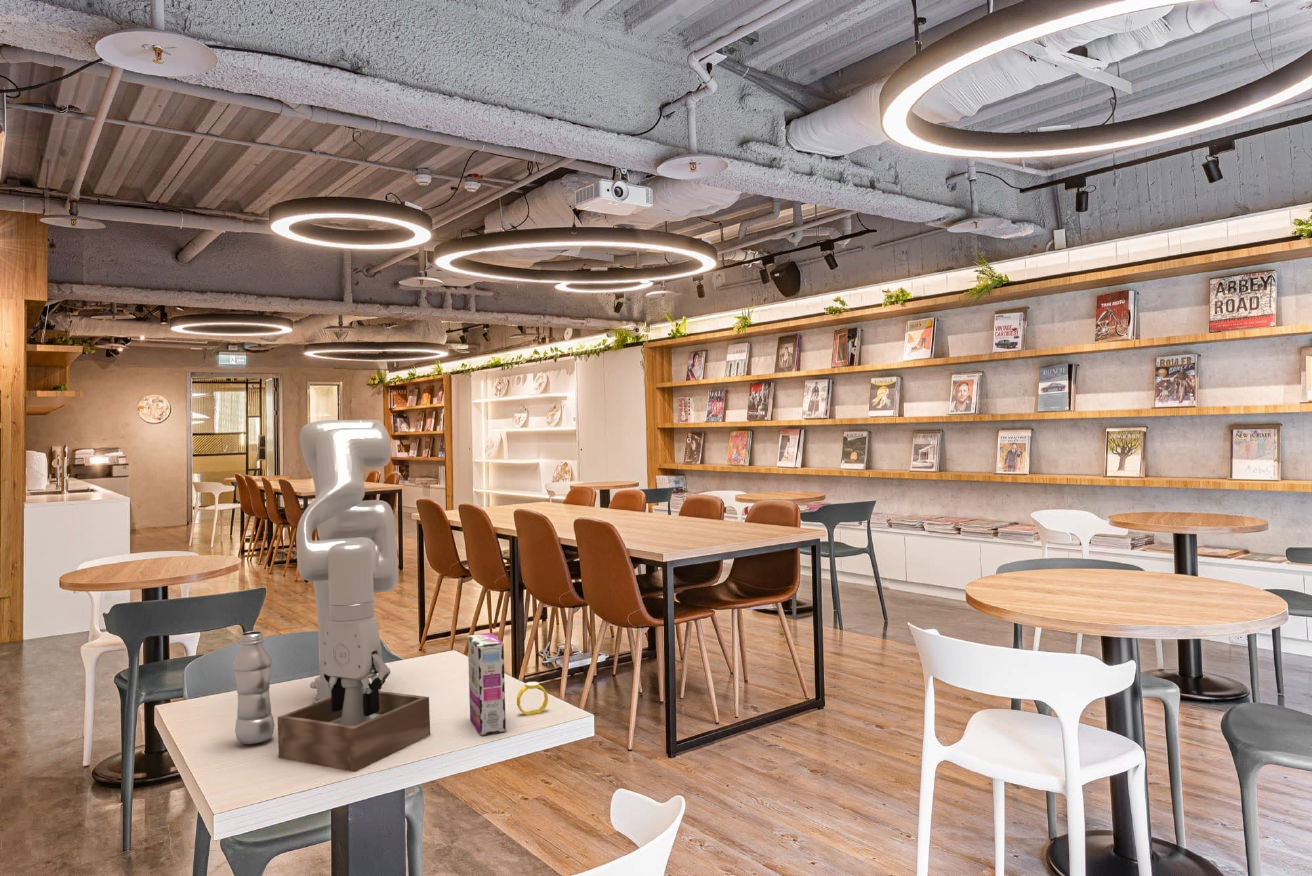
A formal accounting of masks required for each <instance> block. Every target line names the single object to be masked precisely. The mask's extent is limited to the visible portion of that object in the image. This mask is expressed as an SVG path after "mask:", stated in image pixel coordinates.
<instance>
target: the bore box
mask: <svg viewBox="0 0 1312 876" xmlns="http://www.w3.org/2000/svg"><path fill="white" fill-rule="evenodd" d="M364 690H365V689H364ZM365 693H366V691H365ZM342 711H343V709H341V710H339V711H336V712H333V711H332V705H331V698H328V699H325V700H323V701H320V702H317V703H315V704H313V703H312V704H310V705H307V706H305V707H301V708H299V709H296V710H293V711H291V712H287V713H284V714H282V715H279V716H277V740H278V747H277V748H278V758H279V759H286V760H290V761H297V762H301V763H305V764H306V763H308V764H312V765H318V766H323V767H327V768H328V767H330V768H335V769H340V770H346V771H351V772H357V771H359V770H361V769H363V768H366V767H368V766H370V765H372V764H374V763H377V762H378V761H381V760H382V759H385V758H387V757H388V756H391V755H392V754H394V753H397V752H398V751H401V750H402V749H404V748H408V747H409V746H411V745H413V744H415V743H417V742H420V741H421V740H423V739H425V738H428V737H430V736H431V717H430V716H431V715H430V714H431V713H430V712H431V711H430V697H429V696H424V695H415V694H406V693H400V692H398V693H397V692H390V691H383V690H379V712H377V713H374V714H372V715H370V717H371V719H370V720H368V721H365V722H363V723H360V724H358V725H356V726H351V725H344V724H340V723H341V717H342Z"/></svg>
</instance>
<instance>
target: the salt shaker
mask: <svg viewBox="0 0 1312 876" xmlns="http://www.w3.org/2000/svg"><path fill="white" fill-rule="evenodd" d="M341 684H342V687H344V688H346V689H345V696H344V704H343V711H342V717H341V723H340V724H344V725H351V726H356V725H358V724H360V723H363V722H365V721H368V720H370V719H371V717H370V716H364V714H363V694H364V693H365V690H364V686H363V684H362V681H361V680H353V679H344V678H342V679H341Z"/></svg>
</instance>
